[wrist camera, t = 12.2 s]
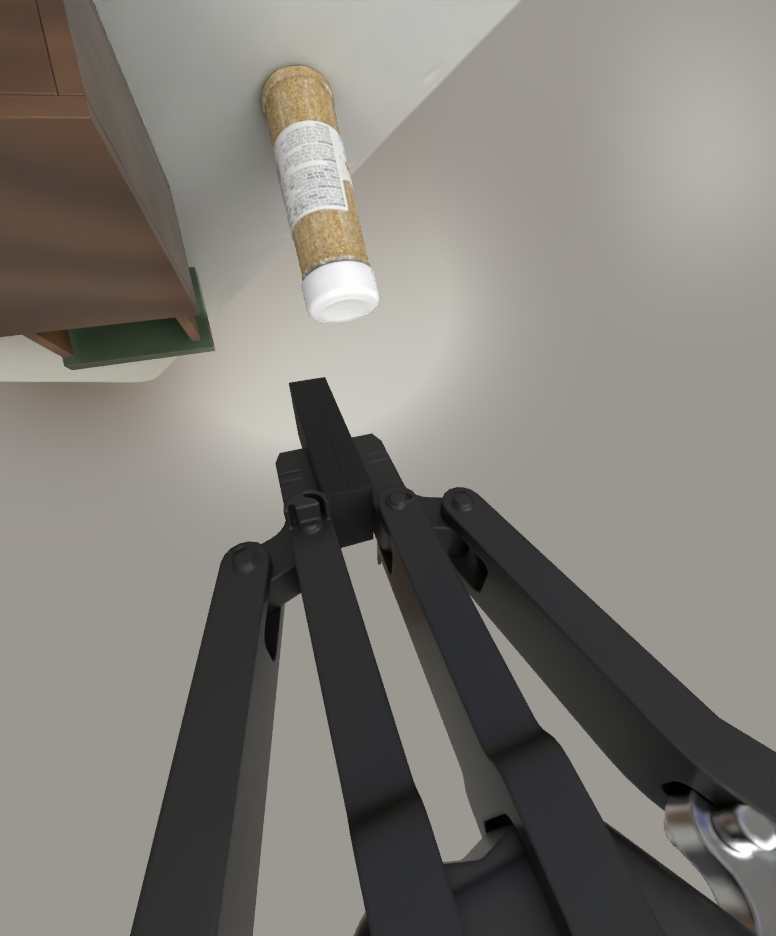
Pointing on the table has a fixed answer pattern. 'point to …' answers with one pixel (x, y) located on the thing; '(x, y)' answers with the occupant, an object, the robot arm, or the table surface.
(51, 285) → the cabinet
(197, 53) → the table surface
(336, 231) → the sprinkles bottle
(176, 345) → the drawer
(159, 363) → the table surface
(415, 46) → the table surface
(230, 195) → the table surface
